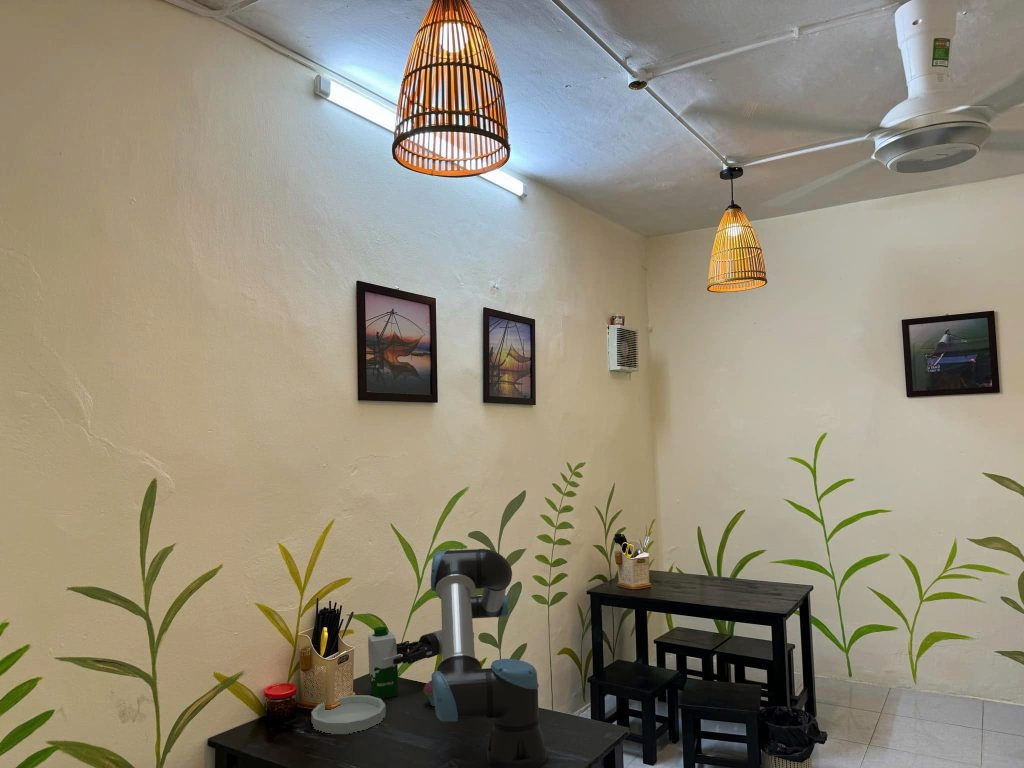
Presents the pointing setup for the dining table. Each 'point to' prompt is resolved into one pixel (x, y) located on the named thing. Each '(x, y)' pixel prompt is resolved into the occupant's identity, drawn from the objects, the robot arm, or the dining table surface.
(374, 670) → the soya milk
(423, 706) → the dining table surface
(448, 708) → the robot arm
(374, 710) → the round tray
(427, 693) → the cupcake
